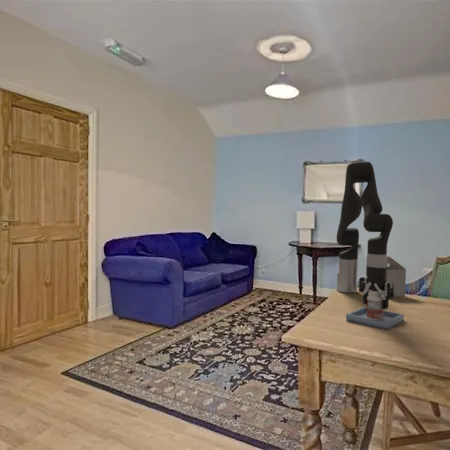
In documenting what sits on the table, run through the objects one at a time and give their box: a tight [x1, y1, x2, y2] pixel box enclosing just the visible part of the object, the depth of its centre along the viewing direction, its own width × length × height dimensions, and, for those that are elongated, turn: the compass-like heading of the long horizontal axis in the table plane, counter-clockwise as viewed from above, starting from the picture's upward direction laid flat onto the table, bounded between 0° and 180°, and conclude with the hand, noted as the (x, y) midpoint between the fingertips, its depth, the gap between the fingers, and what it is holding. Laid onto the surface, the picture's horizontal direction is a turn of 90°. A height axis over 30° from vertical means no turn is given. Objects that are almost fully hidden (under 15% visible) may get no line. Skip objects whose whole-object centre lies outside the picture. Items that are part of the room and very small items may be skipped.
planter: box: [382, 255, 407, 298], centre depth 194 cm, size 16×8×19 cm, turn 59°
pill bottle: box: [366, 290, 385, 320], centre depth 152 cm, size 6×6×11 cm
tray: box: [345, 306, 405, 331], centre depth 152 cm, size 16×16×2 cm
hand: (375, 306), depth 152 cm, fingers open, 8 cm apart
